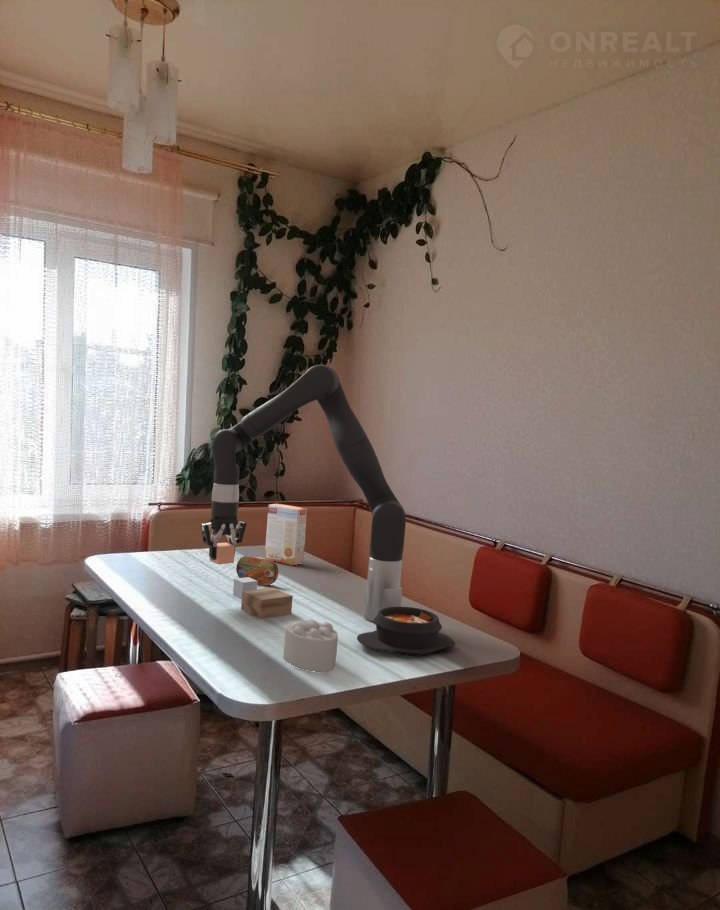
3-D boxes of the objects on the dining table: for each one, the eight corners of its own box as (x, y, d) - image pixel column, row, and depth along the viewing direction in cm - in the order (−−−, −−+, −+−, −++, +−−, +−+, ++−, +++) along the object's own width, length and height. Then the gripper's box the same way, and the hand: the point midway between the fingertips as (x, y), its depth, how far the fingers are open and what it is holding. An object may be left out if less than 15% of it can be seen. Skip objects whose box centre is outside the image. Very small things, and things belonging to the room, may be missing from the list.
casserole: (433, 633, 190) (436, 602, 189) (468, 658, 172) (471, 624, 172) (345, 637, 180) (348, 605, 180) (373, 663, 163) (376, 627, 163)
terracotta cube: (233, 562, 203) (234, 545, 203) (218, 564, 200) (219, 546, 199) (224, 559, 207) (225, 542, 206) (209, 561, 203) (210, 543, 203)
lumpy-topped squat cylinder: (316, 650, 169) (318, 614, 169) (346, 668, 159) (349, 630, 158) (277, 656, 163) (280, 619, 163) (306, 675, 153) (309, 636, 152)
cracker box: (303, 564, 261) (308, 507, 260) (293, 566, 256) (298, 509, 255) (274, 557, 269) (278, 502, 267) (263, 559, 263) (267, 503, 262)
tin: (234, 579, 231) (236, 554, 230) (240, 578, 234) (242, 552, 233) (273, 588, 224) (275, 561, 223) (278, 586, 227) (280, 560, 226)
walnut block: (291, 613, 197) (292, 595, 197) (260, 618, 191) (262, 600, 190) (271, 604, 205) (272, 587, 205) (241, 608, 198) (242, 591, 198)
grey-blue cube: (256, 597, 212) (257, 580, 211) (241, 599, 208) (243, 582, 208) (247, 593, 215) (248, 577, 215) (232, 595, 212) (234, 578, 212)
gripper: (209, 502, 194) (206, 563, 195) (253, 500, 204) (250, 559, 205) (196, 498, 200) (192, 558, 201) (240, 497, 210) (236, 554, 211)
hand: (222, 558), depth 203 cm, fingers closed on terracotta cube, 5 cm apart
